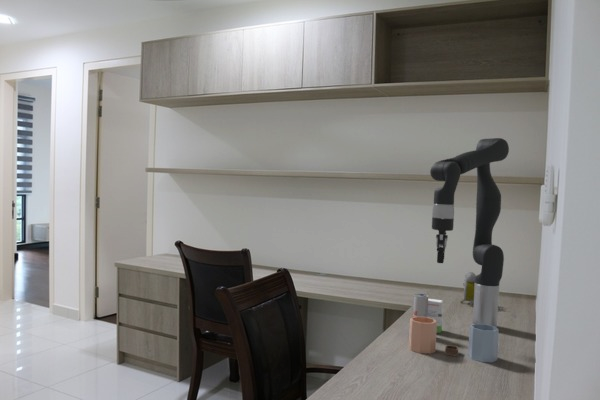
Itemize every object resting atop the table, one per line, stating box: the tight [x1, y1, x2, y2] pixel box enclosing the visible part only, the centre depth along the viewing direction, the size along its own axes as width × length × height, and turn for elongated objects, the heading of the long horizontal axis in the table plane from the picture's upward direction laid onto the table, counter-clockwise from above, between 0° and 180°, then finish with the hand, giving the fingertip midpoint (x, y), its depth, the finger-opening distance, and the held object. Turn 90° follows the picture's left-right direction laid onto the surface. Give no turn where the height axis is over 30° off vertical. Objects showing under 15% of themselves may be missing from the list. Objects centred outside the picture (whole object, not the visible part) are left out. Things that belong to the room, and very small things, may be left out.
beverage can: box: [412, 293, 429, 317], centre depth 182 cm, size 5×5×15 cm
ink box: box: [427, 298, 444, 334], centre depth 189 cm, size 9×5×12 cm, turn 67°
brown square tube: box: [444, 344, 459, 357], centre depth 163 cm, size 4×4×2 cm
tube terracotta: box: [408, 316, 437, 354], centre depth 166 cm, size 8×8×10 cm
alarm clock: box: [460, 271, 476, 307], centre depth 236 cm, size 12×7×15 cm, turn 162°
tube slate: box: [467, 323, 500, 364], centre depth 160 cm, size 8×8×10 cm
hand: (440, 261), depth 178 cm, fingers open, 8 cm apart
